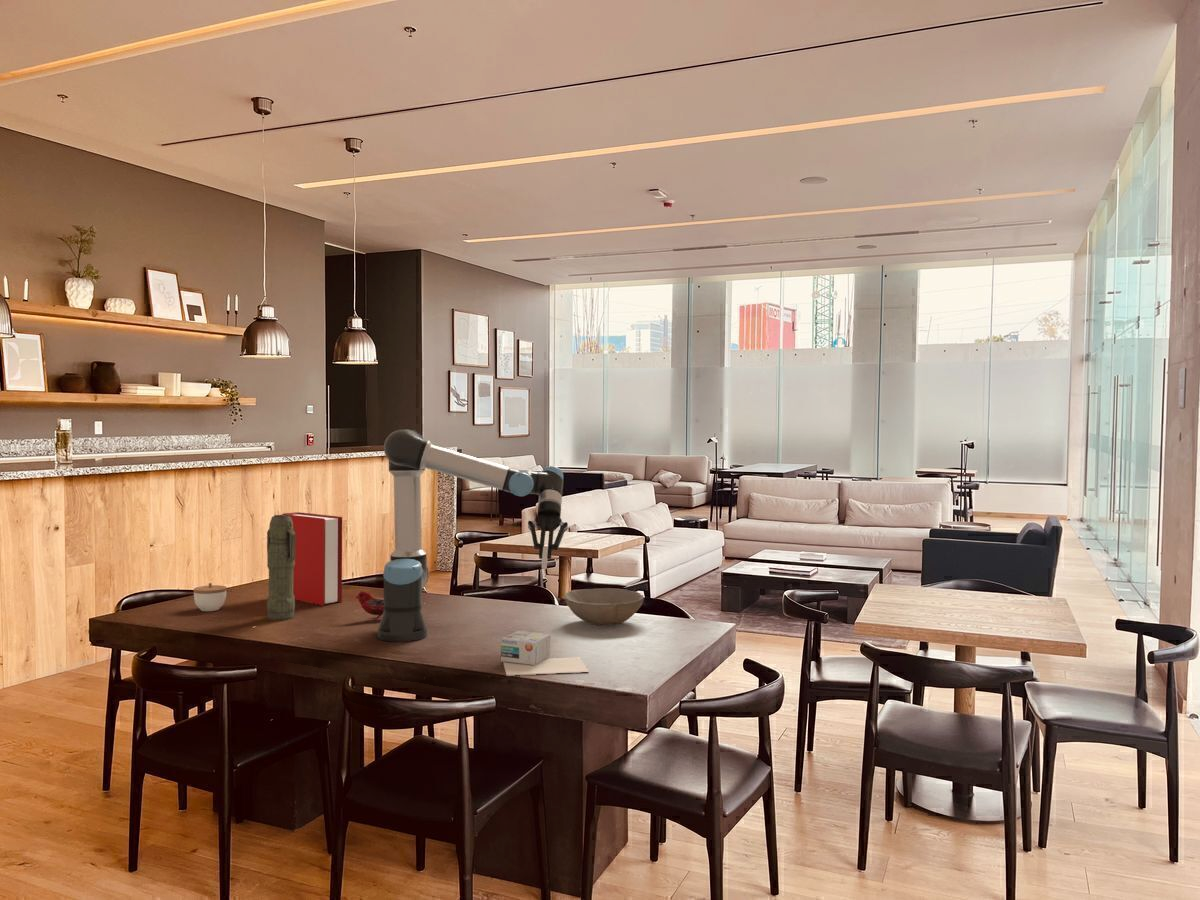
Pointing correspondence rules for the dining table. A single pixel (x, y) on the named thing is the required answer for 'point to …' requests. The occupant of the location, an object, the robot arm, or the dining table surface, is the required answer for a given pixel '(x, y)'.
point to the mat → (546, 667)
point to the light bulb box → (525, 647)
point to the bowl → (604, 605)
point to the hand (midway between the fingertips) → (544, 566)
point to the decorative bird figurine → (371, 604)
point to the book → (317, 558)
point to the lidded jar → (210, 597)
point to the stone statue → (281, 567)
